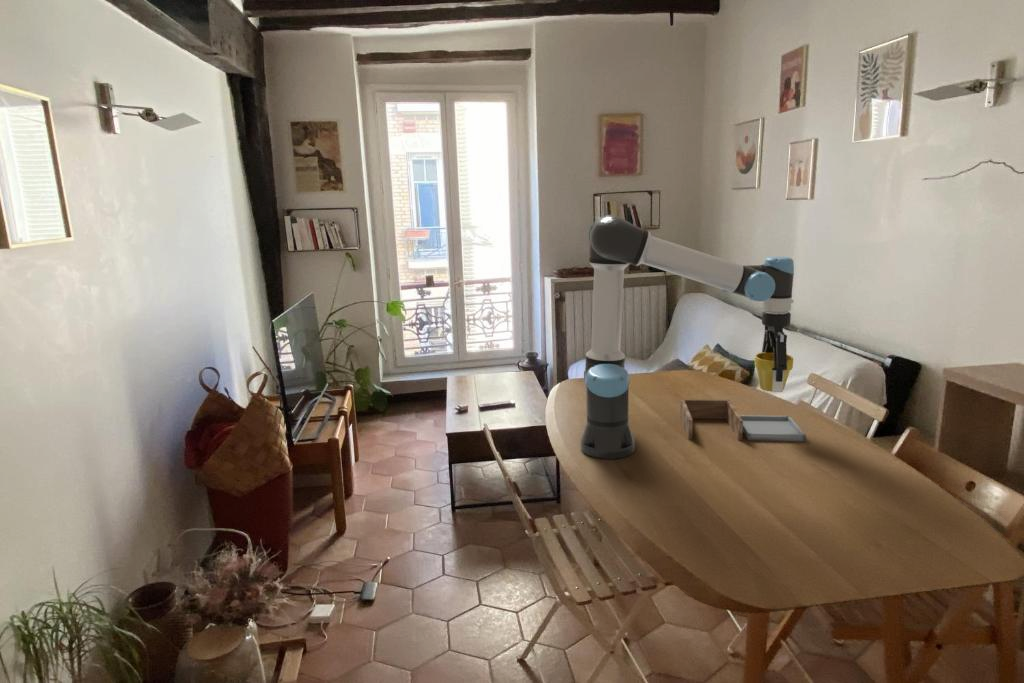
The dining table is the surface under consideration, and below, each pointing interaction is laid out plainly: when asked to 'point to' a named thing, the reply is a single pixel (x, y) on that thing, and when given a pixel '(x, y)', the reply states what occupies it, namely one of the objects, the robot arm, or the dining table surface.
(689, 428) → the box
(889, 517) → the dining table surface
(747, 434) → the tray
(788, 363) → the plant pot
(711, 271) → the robot arm
